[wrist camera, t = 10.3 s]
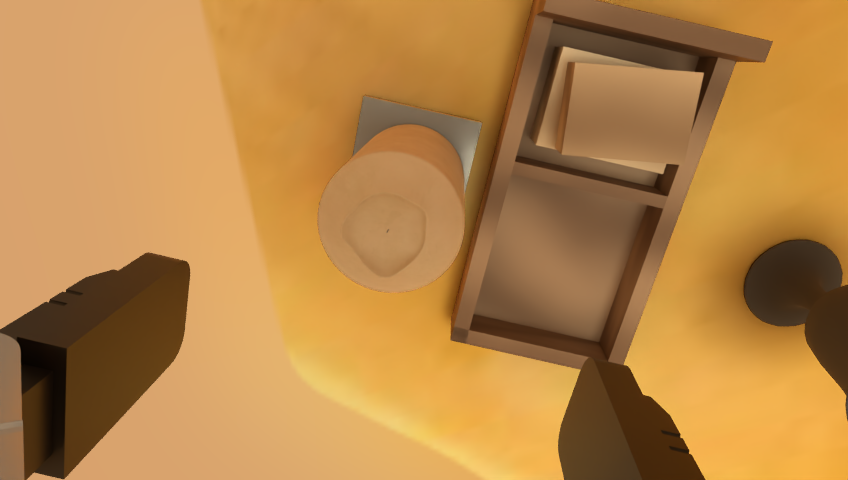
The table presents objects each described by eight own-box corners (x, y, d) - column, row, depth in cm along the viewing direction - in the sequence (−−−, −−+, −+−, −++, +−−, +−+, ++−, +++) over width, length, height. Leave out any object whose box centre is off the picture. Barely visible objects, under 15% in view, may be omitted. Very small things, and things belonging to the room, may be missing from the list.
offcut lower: (555, 47, 28) (563, 46, 25) (677, 75, 28) (697, 77, 25) (529, 137, 29) (535, 145, 27) (646, 164, 29) (662, 174, 27)
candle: (454, 236, 31) (450, 320, 21) (351, 219, 31) (300, 295, 21) (473, 132, 29) (478, 172, 19) (363, 114, 29) (315, 145, 19)
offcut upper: (567, 61, 25) (575, 62, 24) (687, 71, 25) (703, 72, 24) (555, 148, 27) (561, 154, 25) (669, 157, 26) (684, 165, 25)
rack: (533, 0, 27) (549, -11, 23) (718, 43, 27) (772, 41, 23) (451, 319, 33) (449, 364, 28) (606, 354, 33) (631, 405, 28)
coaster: (365, 94, 29) (363, 95, 29) (481, 121, 29) (482, 123, 29) (341, 225, 31) (339, 228, 31) (450, 249, 31) (449, 253, 31)
